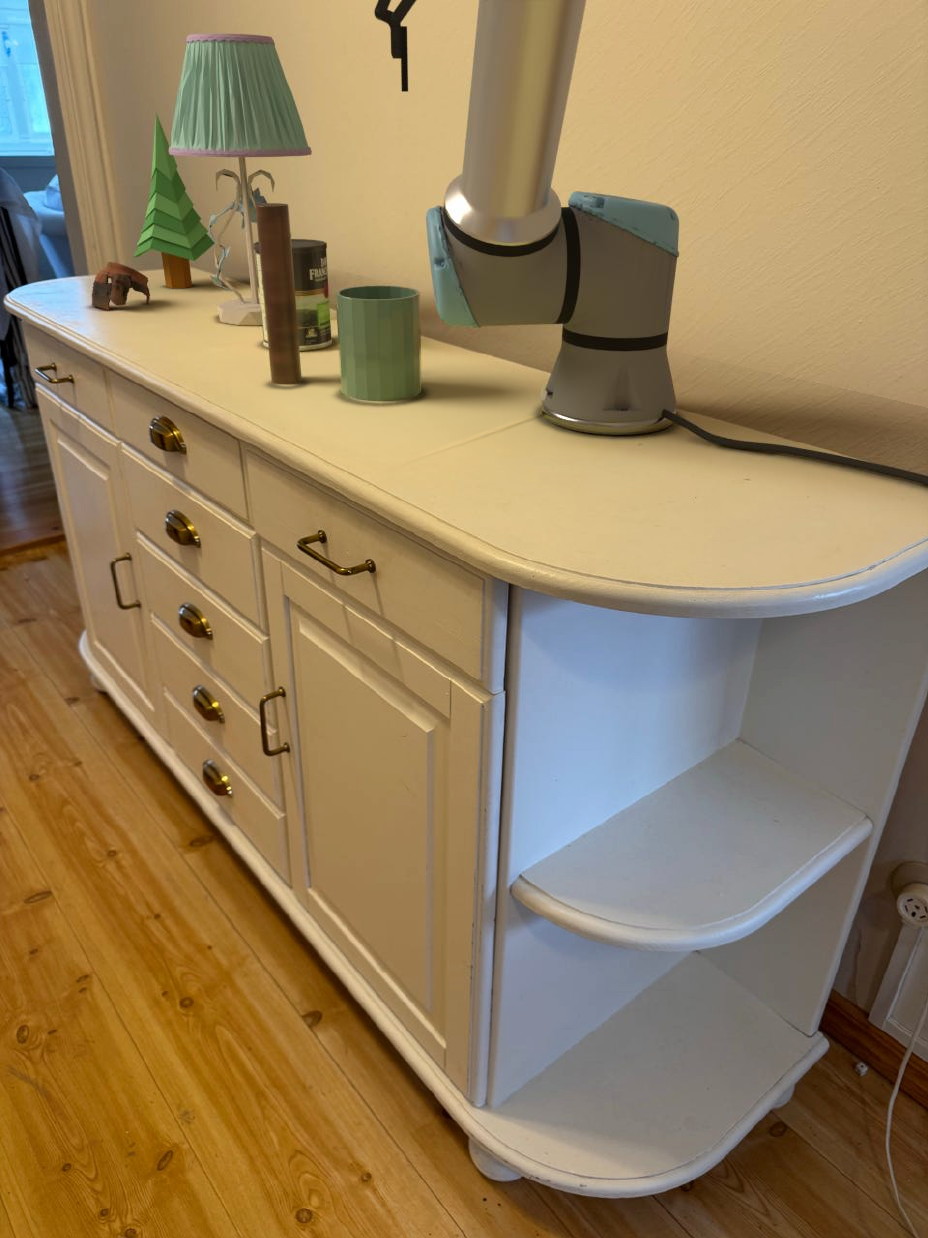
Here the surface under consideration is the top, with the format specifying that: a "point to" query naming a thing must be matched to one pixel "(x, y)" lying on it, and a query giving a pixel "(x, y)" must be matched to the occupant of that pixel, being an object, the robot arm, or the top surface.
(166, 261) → the decorative tree
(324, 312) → the coffee can
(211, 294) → the top surface
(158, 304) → the top surface
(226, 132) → the table lamp
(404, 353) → the tin
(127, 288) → the brown arched piece
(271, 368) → the stick
